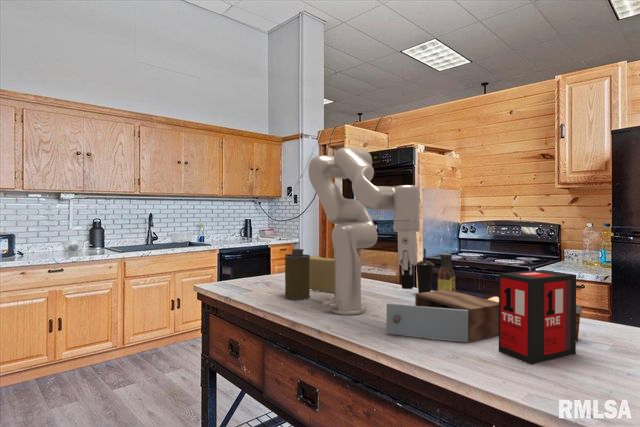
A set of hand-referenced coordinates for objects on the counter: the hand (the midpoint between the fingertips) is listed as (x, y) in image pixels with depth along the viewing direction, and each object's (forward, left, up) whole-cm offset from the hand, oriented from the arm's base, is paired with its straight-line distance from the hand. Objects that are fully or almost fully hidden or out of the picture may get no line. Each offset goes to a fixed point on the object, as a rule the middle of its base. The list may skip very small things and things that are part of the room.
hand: (407, 288), depth 111 cm
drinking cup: (+38, +34, -13) cm, 53 cm away
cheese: (+5, +62, -13) cm, 63 cm away
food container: (+36, -22, -13) cm, 44 cm away
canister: (-12, +55, -13) cm, 58 cm away
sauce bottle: (+32, +16, -13) cm, 38 cm away
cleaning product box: (+18, -28, -13) cm, 36 cm away
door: (0, -8, -13) cm, 15 cm away
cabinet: (+16, -4, -13) cm, 21 cm away
